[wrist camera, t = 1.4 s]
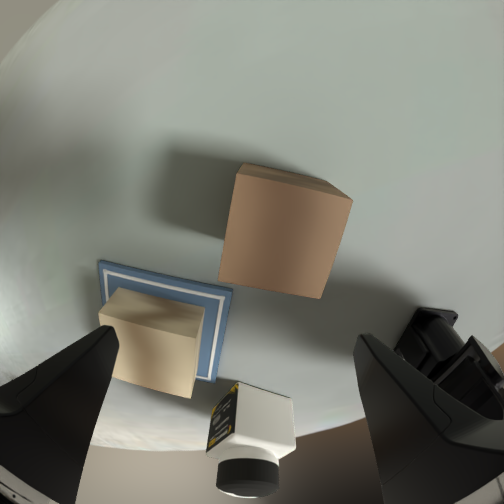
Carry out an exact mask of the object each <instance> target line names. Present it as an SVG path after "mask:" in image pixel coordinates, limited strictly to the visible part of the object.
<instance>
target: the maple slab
mask: <svg viewBox="0 0 504 504" xmlns="http://www.w3.org/2000/svg"><path fill="white" fill-rule="evenodd" d="M204 311H205V307H201V306H196V305H192V304H187V303H182V302H178V301H174V300H169V299H165V298H161V297H156V296H152V295H148V294H144V293H140V292H136V291H132V290H128V289H124V288H120V287H118V288H117V290H116V291H115V292H114V293H113V295H112V296H111V297H110V298H109V300H108V301H107V302H106V304H105V305H104V306H103V307H102V309H101V310H100V311H99V313H98V314H99V320H100V326H102V325H110V326H113V327H114V329H115V331H116V334H117V337H118V340H119V345H120V346H119V351H118V355H117V358H116V362H115V366H114V370H113V374H112V377H115V378H118V379H121V380H124V381H127V382H130V383H133V384H136V385H140V386H143V387H146V388H150V389H154V390H157V391H161V392H165V393H169V394H173V395H177V396H181V397H186V398H190V399H191V395H192V391H193V386H194V382H195V378H196V374H197V369H198V361H199V352H200V344H201V335H202V327H203V319H204Z"/></svg>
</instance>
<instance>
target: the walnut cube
mask: <svg viewBox="0 0 504 504" xmlns="http://www.w3.org/2000/svg"><path fill="white" fill-rule="evenodd" d="M352 203H353V200H352V199H351V198H349V197H348V196H347V195H345V194H344V193H343V192H341V191H340V190H339V189H337V188H336V187H334V186H333V185H332V184H330V183H329V182H327V181H324V180H320V179H316V178H312V177H308V176H304V175H300V174H296V173H292V172H287V171H283V170H278V169H274V168H269V167H264V166H259V165H254V164H249V163H243V164H242V166H241V167H240V169H239V171H238V172H237V174H236V180H235V185H234V190H233V196H232V201H231V206H230V212H229V217H228V223H227V229H226V234H225V240H224V246H223V252H222V258H221V264H220V270H219V276H218V281H222V282H227V283H232V284H237V285H242V286H248V287H253V288H259V289H264V290H270V291H275V292H281V293H287V294H293V295H299V296H305V297H311V298H317V299H320V298H321V296H322V293H323V290H324V288H325V285H326V282H327V279H328V277H329V274H330V271H331V268H332V265H333V262H334V259H335V257H336V254H337V251H338V248H339V245H340V242H341V238H342V235H343V232H344V229H345V226H346V223H347V219H348V216H349V213H350V209H351V206H352Z"/></svg>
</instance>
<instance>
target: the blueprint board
mask: <svg viewBox="0 0 504 504" xmlns="http://www.w3.org/2000/svg"><path fill="white" fill-rule="evenodd" d="M99 275H100V286H101V296H102V304H103V306H104V305H105V304H106V302H107V301H108V300H109V298H110V297H111V296H112V295H113V293H114V292H115V291H116V290H117V288H118V287H120V288H124V289H128V290H132V291H136V292H140V293H144V294H148V295H152V296H156V297H161V298H165V299H169V300H174V301H178V302H182V303H187V304H192V305H196V306H201V307H205V311H204V319H203V327H202V335H201V344H200V352H199V361H198V369H197V374H196V378H195V380H200V381H204V382H210V383H215V381H216V375H217V370H218V365H219V359H220V354H221V349H222V343H223V338H224V333H225V328H226V322H227V317H228V312H229V307H230V302H231V296H232V291H233V289H230V288H225V287H220V286H215V285H210V284H205V283H200V282H195V281H190V280H186V279H181V278H176V277H172V276H167V275H162V274H158V273H153V272H149V271H145V270H140V269H136V268H132V267H128V266H123V265H119V264H115V263H111V262H107V261H103V260H101V261H100V262H99Z"/></svg>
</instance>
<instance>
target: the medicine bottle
mask: <svg viewBox="0 0 504 504" xmlns="http://www.w3.org/2000/svg"><path fill="white" fill-rule="evenodd" d="M295 448H296V443H295V430H294V418H293V406H292V399H291V398H288V397H284V396H281V395H277V394H274V393H271V392H268V391H265V390H262V389H259V388H256V387H253V386H250V385H247V384H244V383H241V382H237V383H236V384H235V385H234V386H233V387H232V388H231V390H230V391H229V392H228V393H227V394H226V395H225V396H224V397H223V398H222V399H221V400H220V402H219V403H218V404H217V405H216V406H215V407H214V408H213V410H212V416H211V422H210V429H209V435H208V442H207V449H206V455H207V456H208V457H211V458H215V459H219V464H218V472H217V482H216V487H217V488H218V489H219V490H220V491H222V492H224V493H226V494H228V495H231V496H236V497H244V498H257V497H264V496H268V495H270V494H273V493H275V492H276V491H277V490H278V489H279V464H278V463H279V462H278V459H279V458H281V457H283V456H285V455H287V454H288V453H290V452H292V451H293V450H295Z"/></svg>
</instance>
